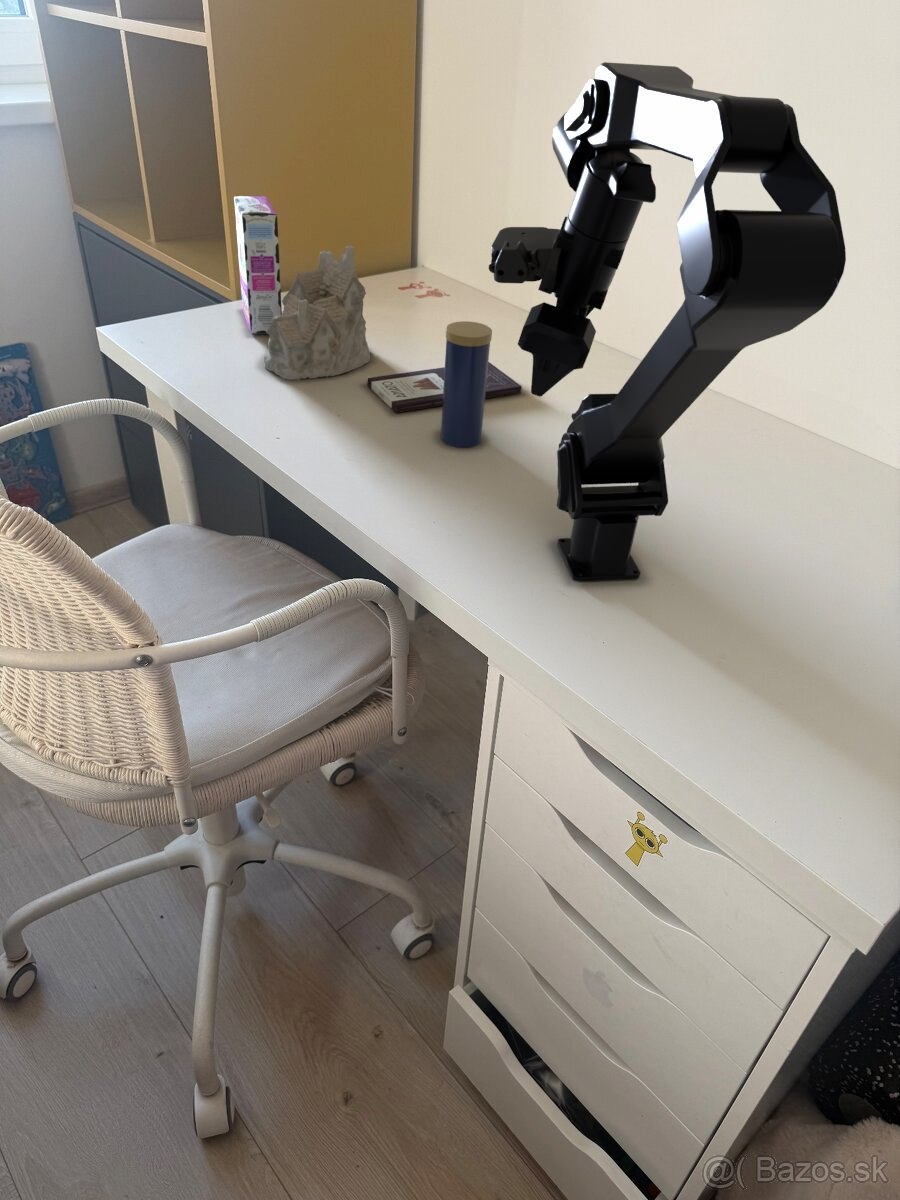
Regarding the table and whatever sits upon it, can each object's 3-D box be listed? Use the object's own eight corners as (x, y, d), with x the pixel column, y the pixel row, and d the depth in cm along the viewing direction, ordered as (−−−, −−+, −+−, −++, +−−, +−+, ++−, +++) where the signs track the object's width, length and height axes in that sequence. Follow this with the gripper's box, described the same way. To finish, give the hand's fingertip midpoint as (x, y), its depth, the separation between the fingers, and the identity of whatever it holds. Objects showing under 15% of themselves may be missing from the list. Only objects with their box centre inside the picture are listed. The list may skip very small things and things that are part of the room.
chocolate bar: (521, 386, 108) (396, 405, 101) (520, 393, 109) (395, 412, 102) (488, 361, 114) (367, 377, 107) (487, 367, 115) (367, 384, 108)
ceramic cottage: (333, 325, 124) (326, 220, 114) (390, 368, 114) (388, 257, 104) (235, 348, 117) (219, 238, 107) (286, 396, 107) (274, 279, 97)
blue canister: (485, 447, 96) (496, 337, 88) (442, 448, 95) (449, 337, 87) (477, 428, 100) (487, 321, 92) (437, 429, 99) (443, 320, 91)
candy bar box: (285, 334, 121) (278, 213, 111) (250, 335, 120) (240, 213, 110) (274, 309, 129) (267, 194, 119) (242, 310, 128) (231, 194, 118)
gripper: (536, 152, 79) (494, 296, 91) (486, 241, 67) (446, 393, 79) (646, 192, 78) (590, 331, 91) (615, 289, 67) (555, 434, 79)
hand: (545, 368), depth 85 cm, fingers open, 9 cm apart
